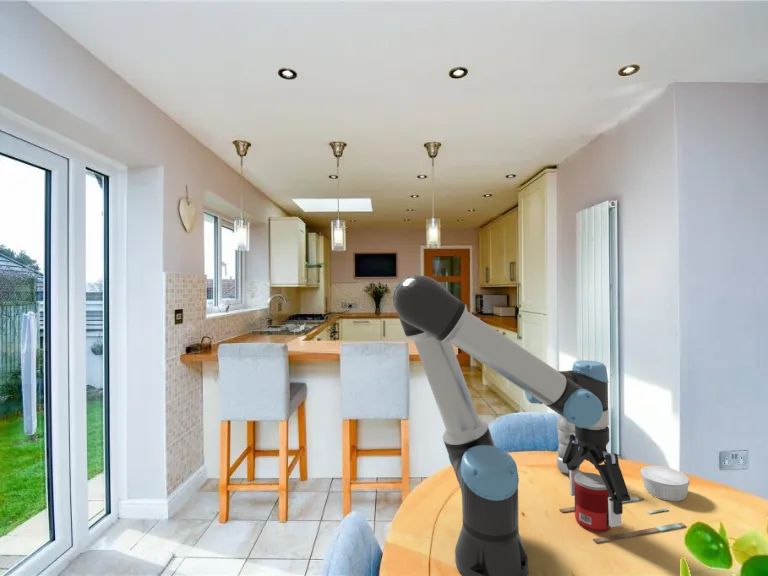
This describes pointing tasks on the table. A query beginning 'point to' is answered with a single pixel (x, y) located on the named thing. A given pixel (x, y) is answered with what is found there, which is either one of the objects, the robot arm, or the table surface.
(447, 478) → the table surface
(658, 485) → the ramekin
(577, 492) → the canned food
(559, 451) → the plastic bottle
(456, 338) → the robot arm
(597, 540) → the guide strips
